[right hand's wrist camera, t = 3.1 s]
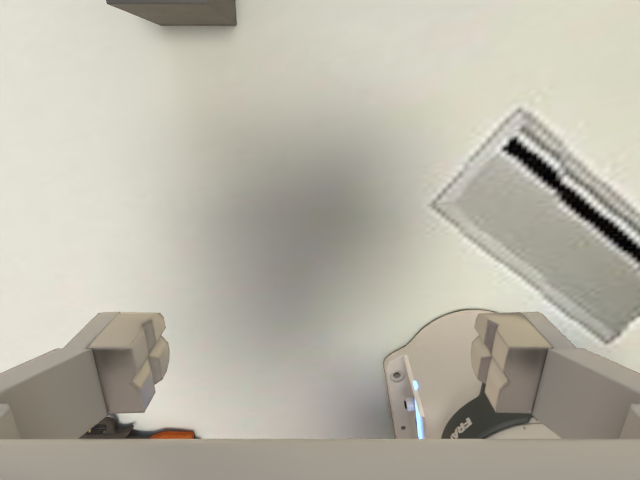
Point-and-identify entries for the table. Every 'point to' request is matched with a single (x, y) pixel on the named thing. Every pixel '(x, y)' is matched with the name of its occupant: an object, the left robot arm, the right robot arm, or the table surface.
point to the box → (181, 11)
